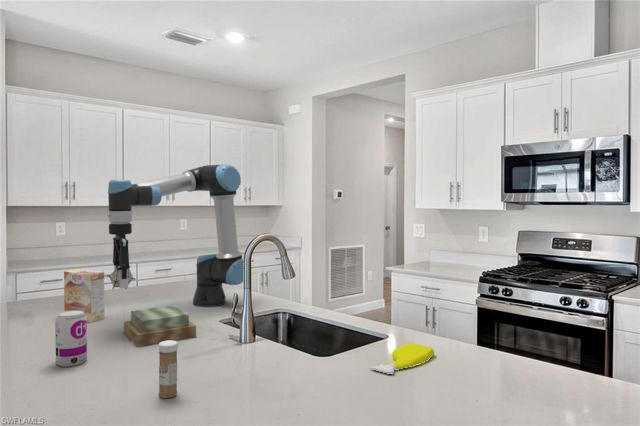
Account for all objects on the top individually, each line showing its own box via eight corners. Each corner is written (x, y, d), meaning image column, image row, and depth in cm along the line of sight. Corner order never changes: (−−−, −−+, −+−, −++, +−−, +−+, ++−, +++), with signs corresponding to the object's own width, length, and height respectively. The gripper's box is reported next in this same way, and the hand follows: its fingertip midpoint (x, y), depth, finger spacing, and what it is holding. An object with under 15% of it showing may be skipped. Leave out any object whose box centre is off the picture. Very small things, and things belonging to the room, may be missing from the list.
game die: (127, 297, 168) (144, 274, 170) (115, 294, 160) (134, 270, 162) (109, 284, 170) (126, 261, 172) (97, 280, 162) (115, 256, 164)
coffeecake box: (63, 318, 188) (63, 271, 187) (78, 314, 194) (78, 268, 194) (90, 322, 182) (90, 273, 181) (105, 318, 189) (105, 271, 188)
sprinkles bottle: (155, 395, 116) (155, 342, 116) (171, 389, 120) (171, 338, 119) (165, 400, 113) (164, 346, 113) (181, 394, 117) (181, 342, 116)
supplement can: (92, 360, 140) (92, 311, 140) (68, 369, 133) (67, 317, 133) (74, 356, 144) (74, 308, 143) (49, 364, 136) (49, 314, 136)
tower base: (178, 324, 181) (178, 303, 181) (196, 337, 165) (196, 314, 164) (124, 332, 170) (123, 310, 169) (137, 347, 153) (137, 323, 153)
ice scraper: (437, 357, 147) (398, 381, 128) (407, 350, 154) (365, 371, 135) (437, 348, 147) (398, 371, 128) (407, 341, 154) (365, 361, 135)
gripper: (103, 221, 172) (104, 282, 172) (114, 225, 154) (115, 292, 155) (125, 221, 176) (125, 280, 177) (138, 224, 158) (139, 289, 159)
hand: (121, 285), depth 166 cm, fingers closed on game die, 9 cm apart
